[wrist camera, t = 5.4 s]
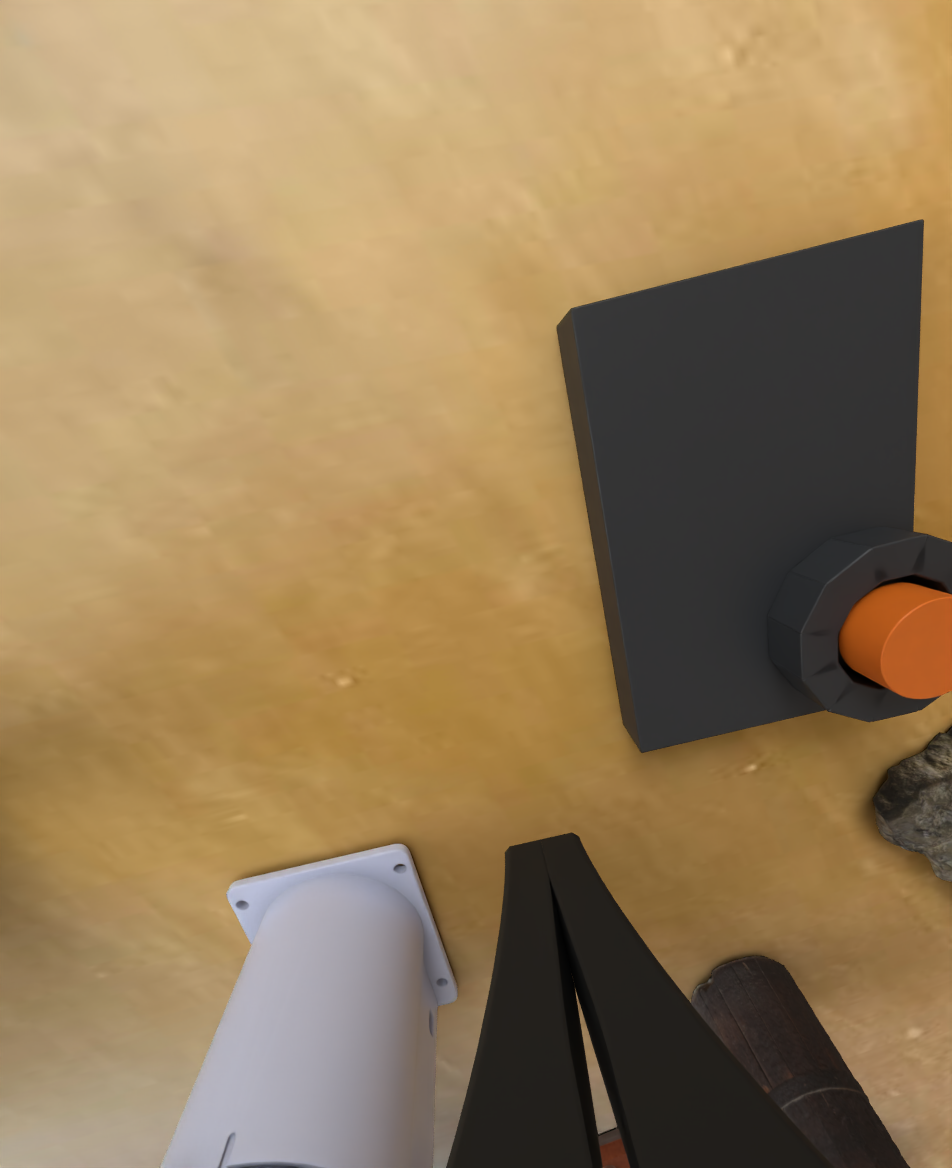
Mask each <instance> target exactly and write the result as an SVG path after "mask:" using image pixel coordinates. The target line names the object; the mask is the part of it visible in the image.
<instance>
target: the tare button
mask: <svg viewBox="0 0 952 1168" xmlns="http://www.w3.org/2000/svg"><path fill="white" fill-rule="evenodd" d="M839 649H840V653H841V655H842V658H843V659H844V661H845V662H846V664H847V665H848V666H849V667H850V668H851V669H853V670H854V671H856V672H858V673H860V674H861V675H863V676H865V677H867V678H869V679H871V680H873V681H874V682H876V683H878V684H880V685H882V686H884V687H886V688H887V689H889V690H891V691H893V692H895V693H897V694H899V695H901V696H903V697H907V698H912V699H928V698H934V697H937V696H941V695H943V694H945V693H948V692H950V691H952V594H948V593H945V592H941V591H938V590H934V589H930V588H927V587H923V586H920V585H916V584H912V583H905V582H899V583H891V584H887V585H883V586H881V587H878V588H876V589H874V590H872V591H870V592H869V593H867V594H866V595H865V596H864V597H862V598H861V599H860V600H858V601H857V602H856V603H855V604H854V605H853V607H852V609H851V611H850V613H849V615H848V616H847V618H846V620H845V622H844V624H843V626H842V628H841V629H840V633H839Z"/></svg>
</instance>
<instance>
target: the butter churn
mask: <svg viewBox="0 0 952 1168" xmlns="http://www.w3.org/2000/svg"><path fill="white" fill-rule="evenodd" d="M711 974H712V976H711V977H710V978H709V980H708V981H707V982H706V983H704V984H699V985H698V987H696V989H695V990H694V991H693V996H692V1002H691V1004H692V1005H693V1007H694V1008H695V1009H696V1010H697V1012H698V1013H699V1014H700V1015H701V1017H702V1018H703V1019H704V1020H705V1022H706V1023H707V1024H708V1025H709V1026H710V1028H711V1029H712V1030H713V1031H714V1032H715V1034H716V1035H717V1036H718V1037H719V1038H720V1040H721V1041H722V1042H723V1043H724V1044H725V1046H726V1047H727V1048H728V1049H729V1050H730V1051H731V1053H732V1054H733V1055H734V1056H735V1057H736V1058H737V1060H738V1061H739V1062H740V1063H741V1064H742V1065H743V1066H744V1068H745V1069H746V1070H747V1071H748V1072H749V1073H750V1075H751V1076H752V1077H753V1078H754V1079H755V1080H756V1081H757V1083H758V1084H759V1085H760V1086H761V1087H762V1088H763V1089H764V1091H765V1092H766V1093H767V1094H768V1095H769V1096H770V1097H771V1098H772V1099H773V1101H774V1102H775V1103H776V1104H777V1105H778V1106H779V1107H780V1108H781V1109H782V1111H783V1112H784V1113H785V1114H786V1115H787V1116H788V1117H789V1118H790V1119H791V1121H792V1122H793V1123H794V1124H795V1125H796V1126H797V1127H798V1128H799V1129H800V1131H801V1132H802V1133H803V1134H804V1135H805V1136H806V1137H807V1138H808V1139H809V1140H810V1141H811V1143H812V1144H813V1145H814V1146H815V1147H816V1148H817V1149H818V1150H819V1151H820V1152H821V1153H822V1154H823V1155H824V1156H825V1157H826V1158H827V1159H828V1160H829V1161H830V1162H831V1164H832V1165H833V1166H834V1167H835V1168H910V1167H909V1165H908V1164H907V1163H906V1161H905V1160H904V1159H903V1157H902V1156H901V1153H900V1151H899V1149H898V1147H897V1146H896V1144H895V1143H894V1142H893V1141H892V1139H891V1137H890V1135H889V1133H888V1131H887V1130H886V1128H885V1126H884V1125H883V1124H882V1121H881V1120H880V1118H879V1116H878V1115H877V1114H876V1112H875V1111H874V1110H873V1107H872V1106H871V1105H870V1103H869V1099H868V1097H867V1096H866V1094H865V1093H864V1091H863V1089H862V1087H861V1086H860V1084H859V1083H858V1082H857V1080H856V1079H855V1078H854V1077H853V1075H852V1073H851V1072H850V1070H849V1069H848V1067H847V1065H846V1064H845V1062H844V1061H843V1059H842V1057H841V1055H840V1053H839V1052H838V1050H837V1049H836V1047H835V1046H834V1044H833V1043H832V1041H831V1039H830V1037H829V1036H828V1034H827V1033H826V1031H825V1030H824V1028H823V1027H822V1025H821V1023H820V1022H819V1020H818V1019H817V1017H816V1015H815V1014H814V1012H813V1010H812V1008H811V1007H810V1005H809V1004H808V1002H807V1000H806V999H805V997H804V995H803V994H802V992H801V991H800V989H799V988H798V986H797V985H796V983H795V981H794V979H793V978H792V976H791V975H790V973H789V972H788V971H787V970H786V968H785V967H784V965H781V964H780V963H779V962H776V961H774V960H771V959H769V958H767V957H764V956H760V957H759V956H749V957H747V958H746V957H744V958H743V959H740V960H738V959H737V960H735V961H733V962H730V963H726V964H724V965H722V966H720V967H717V968H716V969H714V970H713V971H712V973H711Z"/></svg>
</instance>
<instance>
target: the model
mask: <svg viewBox="0 0 952 1168" xmlns="http://www.w3.org/2000/svg"><path fill="white" fill-rule="evenodd" d="M598 1139H599V1145H600V1152H601V1158H602V1165H603V1168H630V1165H629V1162H628V1159H627V1155H626V1152H625V1149H624V1145H623V1142H622V1139H621V1136H620V1132H619V1129H618V1128H617V1129H615V1130H612V1131H610V1132H607V1133H605V1134H602V1135H600V1136H598Z"/></svg>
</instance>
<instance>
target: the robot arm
mask: <svg viewBox="0 0 952 1168" xmlns="http://www.w3.org/2000/svg"><path fill="white" fill-rule="evenodd" d="M542 847H543V848H542ZM398 864H403V866H400V865H398ZM226 895H227V899H228V901H229V902H230V904H231V906H232V908H233V910H234V912H235V914H236V916H237V918H238V920H239V922H240V924H241V926H242V928H243V930H244V932H245V934H246V935H247V937H248V939H249V941H250V943H251V948H250V950H249V953H248V955H247V957H246V960H245V962H244V965H243V967H242V970H241V972H240V974H239V977H238V979H237V982H236V984H235V987H234V989H233V991H232V994H231V996H230V999H229V1001H228V1004H227V1006H226V1008H225V1011H224V1013H223V1016H222V1018H221V1021H220V1023H219V1025H218V1028H217V1030H216V1033H215V1035H214V1038H213V1040H212V1042H211V1045H210V1047H209V1050H208V1052H207V1055H206V1057H205V1059H204V1062H203V1064H202V1067H201V1069H200V1071H199V1074H198V1076H197V1079H196V1081H195V1084H194V1086H193V1088H192V1091H191V1093H190V1096H189V1098H188V1101H187V1103H186V1105H185V1108H184V1110H183V1113H182V1115H181V1118H180V1120H179V1122H178V1125H177V1127H176V1130H175V1132H174V1135H173V1137H172V1139H171V1142H170V1144H169V1147H168V1149H167V1152H166V1154H165V1156H164V1159H163V1161H162V1164H161V1166H160V1168H433V1148H434V1114H435V1080H436V1046H437V1011H438V1006H440V1005H445V1004H449V1003H452V1002H454V1001H455V1000H456V999H457V997H458V989H457V984H456V981H455V978H454V976H453V973H452V970H451V967H450V964H449V961H448V959H447V956H446V953H445V950H444V947H443V944H442V942H441V939H440V936H439V933H438V930H437V927H436V925H435V922H434V919H433V916H432V913H431V910H430V908H429V905H428V902H427V899H426V896H425V893H424V891H423V888H422V885H421V882H420V879H419V876H418V874H417V871H416V868H415V865H414V862H413V859H412V857H411V854H410V851H409V849H408V848H407V847H406V846H405V845H403V844H392V845H388V846H384V847H379V848H375V849H371V850H366V851H362V852H358V853H353V854H349V855H345V856H340V857H336V858H332V859H327V860H323V861H319V862H315V863H310V864H306V865H302V866H297V867H293V868H289V869H284V870H280V871H276V872H271V873H267V874H263V875H258V876H254V877H250V878H246V879H241V880H237V881H235V882H233V883H232V884H231V885H230V887H229V889H228V891H227V894H226ZM567 955H568V956H567ZM570 968H571V969H570ZM573 981H574V982H573ZM575 989H576V992H577V995H578V999H579V1002H580V1005H581V1009H582V1012H583V1015H584V1018H585V1022H586V1025H587V1028H588V1031H589V1035H590V1038H591V1041H592V1044H593V1048H594V1051H595V1054H596V1057H597V1061H598V1064H599V1067H600V1071H601V1074H602V1077H603V1080H604V1084H605V1087H606V1090H607V1093H608V1097H609V1100H610V1103H611V1106H612V1110H613V1113H614V1116H615V1119H616V1123H617V1126H618V1129H619V1132H620V1136H621V1139H622V1142H623V1145H624V1149H625V1152H626V1155H627V1159H628V1162H629V1165H630V1168H835V1167H834V1166H833V1165H832V1164H831V1162H830V1161H829V1160H828V1159H827V1158H826V1157H825V1156H824V1155H823V1154H822V1153H821V1152H820V1151H819V1150H818V1149H817V1148H816V1147H815V1146H814V1145H813V1144H812V1143H811V1141H810V1140H809V1139H808V1138H807V1137H806V1136H805V1135H804V1134H803V1133H802V1132H801V1131H800V1129H799V1128H798V1127H797V1126H796V1125H795V1124H794V1123H793V1122H792V1121H791V1119H790V1118H789V1117H788V1116H787V1115H786V1114H785V1113H784V1112H783V1111H782V1109H781V1108H780V1107H779V1106H778V1105H777V1104H776V1103H775V1102H774V1101H773V1099H772V1098H771V1097H770V1096H769V1095H768V1094H767V1093H766V1092H765V1091H764V1089H763V1088H762V1087H761V1086H760V1085H759V1084H758V1083H757V1081H756V1080H755V1079H754V1078H753V1077H752V1076H751V1075H750V1073H749V1072H748V1071H747V1070H746V1069H745V1068H744V1066H743V1065H742V1064H741V1063H740V1062H739V1061H738V1060H737V1058H736V1057H735V1056H734V1055H733V1054H732V1053H731V1051H730V1050H729V1049H728V1048H727V1047H726V1046H725V1044H724V1043H723V1042H722V1041H721V1040H720V1038H719V1037H718V1036H717V1035H716V1034H715V1032H714V1031H713V1030H712V1029H711V1028H710V1026H709V1025H708V1024H707V1023H706V1022H705V1020H704V1019H703V1018H702V1017H701V1015H700V1014H699V1013H698V1012H697V1010H696V1009H695V1008H694V1007H693V1005H692V1004H691V1003H690V1002H689V1000H688V999H687V998H686V997H685V995H684V994H683V993H682V992H681V990H680V989H679V988H678V986H677V985H676V984H675V983H674V981H673V980H672V979H671V978H670V976H669V975H668V974H667V972H666V971H665V970H664V968H663V967H662V966H661V964H660V963H659V962H658V960H657V959H656V958H655V956H654V955H653V954H652V952H651V951H650V950H649V948H648V947H647V945H646V944H645V943H644V941H643V940H642V938H641V937H640V936H639V934H638V933H637V931H636V930H635V929H634V927H633V926H632V924H631V923H630V922H629V920H628V919H627V917H626V916H625V915H624V913H623V912H622V910H621V909H620V907H619V906H618V904H617V903H616V901H615V900H614V898H613V897H612V895H611V893H610V892H609V890H608V889H607V887H606V885H605V884H604V882H603V881H602V879H601V877H600V876H599V874H598V872H597V871H596V869H595V867H594V866H593V864H592V862H591V860H590V859H589V857H588V855H587V853H586V851H585V849H584V847H583V845H582V843H581V841H580V838H579V836H577V835H575V834H574V833H568V834H564V835H559V836H555V837H550V838H546V839H541V840H537V841H532V842H528V843H523V844H519V845H514V846H510V847H509V848H508V849H507V851H506V852H505V884H504V896H503V906H502V914H501V923H500V930H499V937H498V943H497V949H496V956H495V962H494V968H493V974H492V980H491V985H490V990H489V995H488V1000H487V1005H486V1010H485V1014H484V1019H483V1024H482V1029H481V1034H480V1038H479V1043H478V1048H477V1052H476V1056H475V1061H474V1065H473V1069H472V1073H471V1077H470V1081H469V1085H468V1089H467V1093H466V1097H465V1101H464V1105H463V1109H462V1112H461V1116H460V1120H459V1124H458V1127H457V1131H456V1135H455V1139H454V1142H453V1146H452V1149H451V1153H450V1156H449V1160H448V1163H447V1167H446V1168H603V1165H602V1158H601V1152H600V1145H599V1139H598V1133H597V1126H596V1120H595V1113H594V1107H593V1101H592V1094H591V1088H590V1082H589V1075H588V1069H587V1062H586V1056H585V1050H584V1043H583V1037H582V1031H581V1024H580V1018H579V1011H578V1005H577V999H576V992H575Z"/></svg>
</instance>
